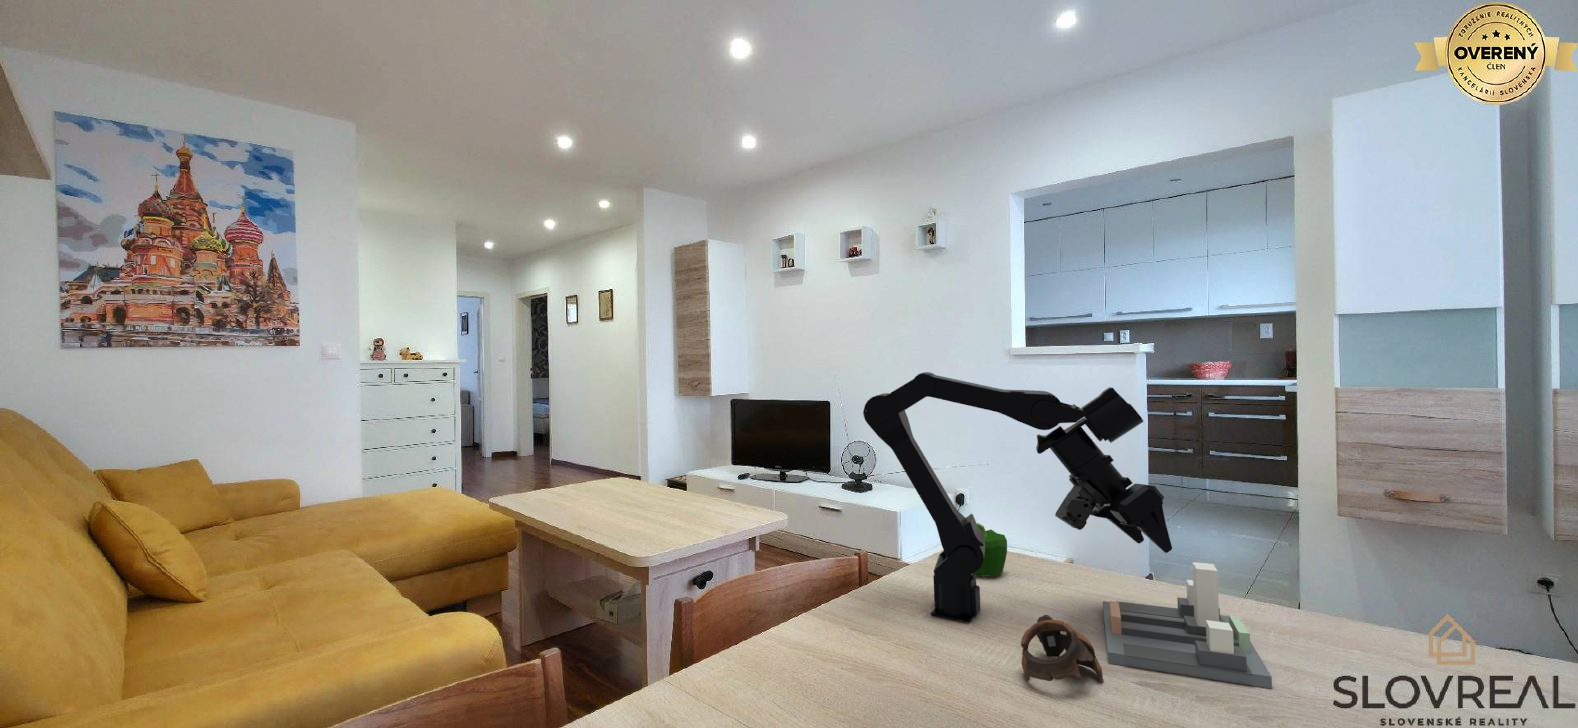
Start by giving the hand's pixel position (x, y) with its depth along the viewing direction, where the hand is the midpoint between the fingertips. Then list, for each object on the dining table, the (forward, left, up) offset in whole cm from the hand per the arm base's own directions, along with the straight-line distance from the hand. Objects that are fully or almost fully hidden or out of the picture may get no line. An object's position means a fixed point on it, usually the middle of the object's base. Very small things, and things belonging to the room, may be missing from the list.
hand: (1154, 546), depth 92 cm
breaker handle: (+6, -2, -11) cm, 13 cm away
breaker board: (+2, -2, -13) cm, 14 cm away
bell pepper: (-29, +14, -13) cm, 35 cm away
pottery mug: (-10, -19, -13) cm, 26 cm away
